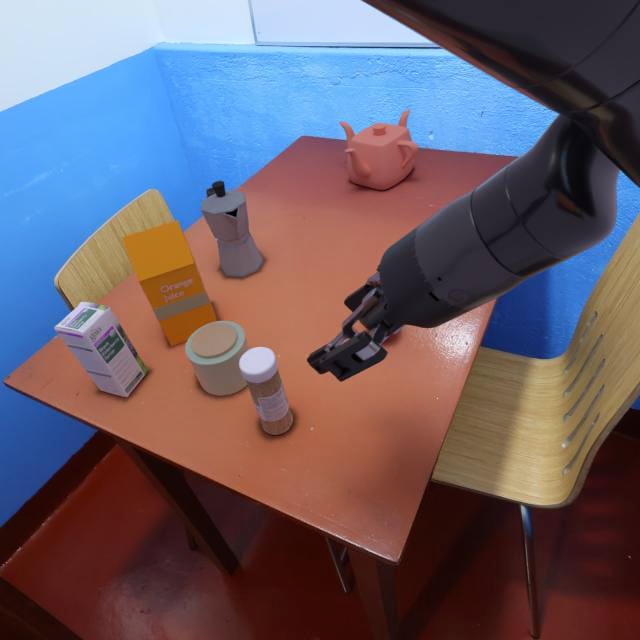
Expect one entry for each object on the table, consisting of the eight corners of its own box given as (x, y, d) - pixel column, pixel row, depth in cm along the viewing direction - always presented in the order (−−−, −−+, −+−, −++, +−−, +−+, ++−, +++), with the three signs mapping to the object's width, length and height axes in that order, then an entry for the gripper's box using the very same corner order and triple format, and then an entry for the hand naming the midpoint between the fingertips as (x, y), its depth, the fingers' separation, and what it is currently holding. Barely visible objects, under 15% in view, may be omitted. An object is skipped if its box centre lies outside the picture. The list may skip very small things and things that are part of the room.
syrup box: (127, 399, 73) (83, 333, 63) (98, 391, 75) (51, 326, 65) (149, 371, 77) (111, 305, 67) (121, 364, 79) (80, 299, 69)
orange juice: (165, 319, 86) (119, 225, 72) (211, 303, 88) (175, 208, 74) (171, 347, 80) (122, 251, 67) (220, 329, 82) (183, 231, 68)
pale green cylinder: (228, 404, 70) (213, 370, 64) (188, 381, 74) (171, 347, 69) (267, 364, 74) (256, 329, 69) (227, 344, 79) (214, 310, 74)
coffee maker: (275, 270, 92) (254, 187, 80) (234, 289, 90) (206, 205, 78) (245, 238, 102) (222, 160, 90) (208, 254, 100) (179, 175, 88)
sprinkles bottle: (261, 412, 68) (237, 349, 59) (292, 406, 68) (273, 341, 59) (263, 439, 64) (238, 376, 55) (295, 432, 64) (276, 368, 55)
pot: (343, 164, 123) (338, 116, 114) (410, 154, 122) (409, 105, 113) (349, 199, 109) (343, 147, 101) (424, 188, 108) (425, 135, 100)
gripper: (447, 179, 38) (336, 267, 51) (386, 285, 30) (270, 360, 42) (507, 243, 40) (384, 313, 52) (465, 362, 31) (330, 413, 44)
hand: (333, 334), depth 47 cm, fingers open, 8 cm apart
